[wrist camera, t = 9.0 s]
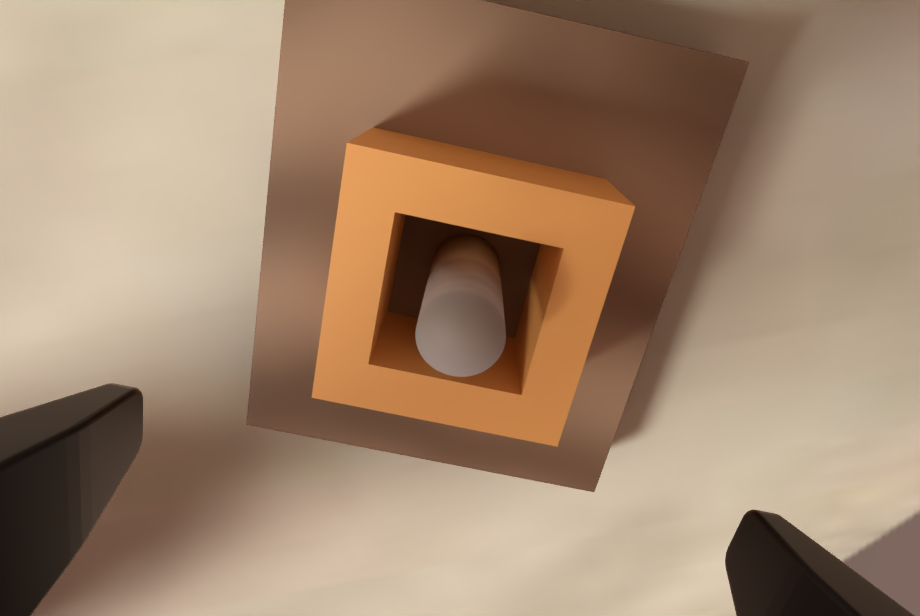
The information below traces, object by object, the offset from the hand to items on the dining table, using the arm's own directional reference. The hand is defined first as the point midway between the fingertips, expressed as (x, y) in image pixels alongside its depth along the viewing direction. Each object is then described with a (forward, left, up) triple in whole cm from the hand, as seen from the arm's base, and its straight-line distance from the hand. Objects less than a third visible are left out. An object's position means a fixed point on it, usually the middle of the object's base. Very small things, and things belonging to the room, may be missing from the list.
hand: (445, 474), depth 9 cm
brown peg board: (0, 0, -12) cm, 12 cm away
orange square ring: (0, 0, -10) cm, 10 cm away
